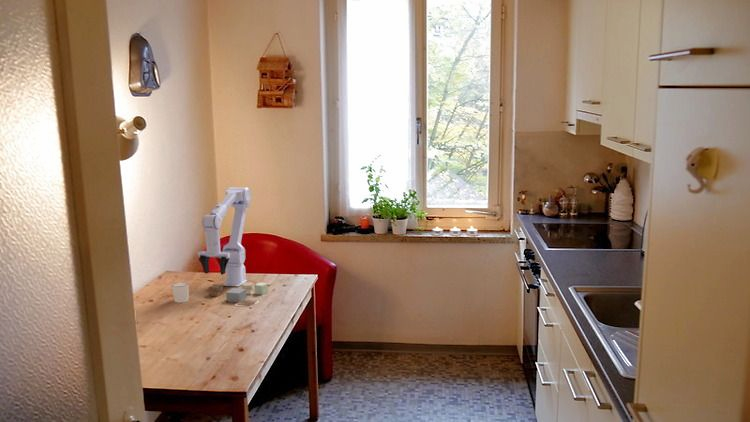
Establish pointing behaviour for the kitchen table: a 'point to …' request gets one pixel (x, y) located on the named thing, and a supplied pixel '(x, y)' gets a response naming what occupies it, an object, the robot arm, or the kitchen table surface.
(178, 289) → the shot glass
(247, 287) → the birch cube
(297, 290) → the kitchen table surface
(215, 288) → the walnut cube
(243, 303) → the swatch
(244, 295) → the slate base
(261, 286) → the sage cube
